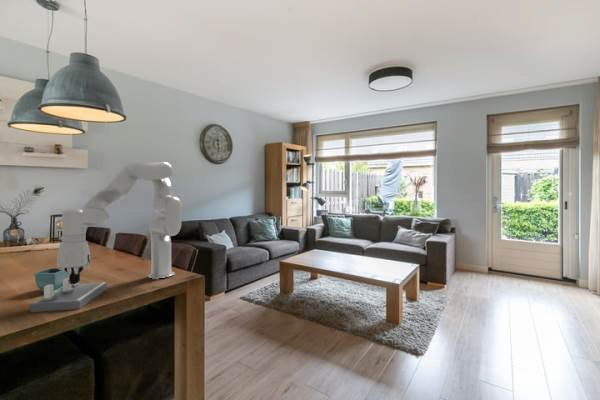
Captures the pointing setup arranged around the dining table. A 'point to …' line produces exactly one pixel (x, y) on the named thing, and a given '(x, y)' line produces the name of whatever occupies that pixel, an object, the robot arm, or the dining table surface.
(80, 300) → the grey flat block
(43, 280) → the flower pot
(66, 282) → the middle breaker
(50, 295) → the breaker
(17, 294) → the dining table surface
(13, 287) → the dining table surface
